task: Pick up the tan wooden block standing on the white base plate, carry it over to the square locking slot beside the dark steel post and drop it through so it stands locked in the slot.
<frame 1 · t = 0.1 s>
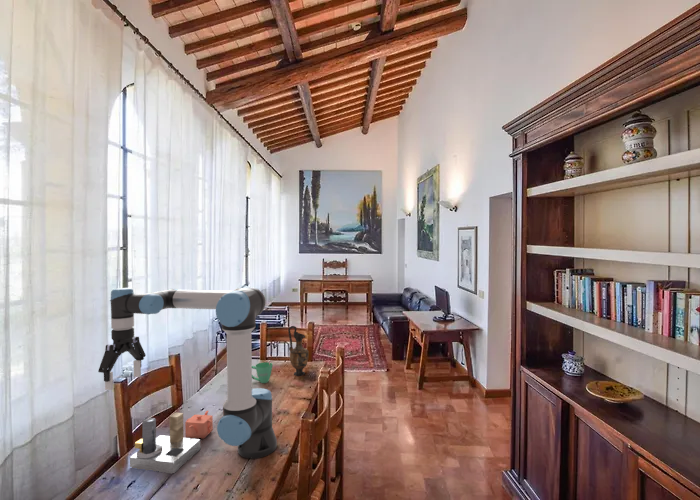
hand: (123, 382, 145), 28 cm above the table, fingers open, 13 cm apart
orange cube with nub: (199, 435, 160), on the table
vase: (298, 374, 234), on the table
white base plate: (166, 458, 142), on the table
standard: (148, 436, 139), on the white base plate, point 10 cm above the table
tan wooden block: (176, 439, 148), point 4 cm above the table, touching white base plate
mug: (260, 382, 220), on the table
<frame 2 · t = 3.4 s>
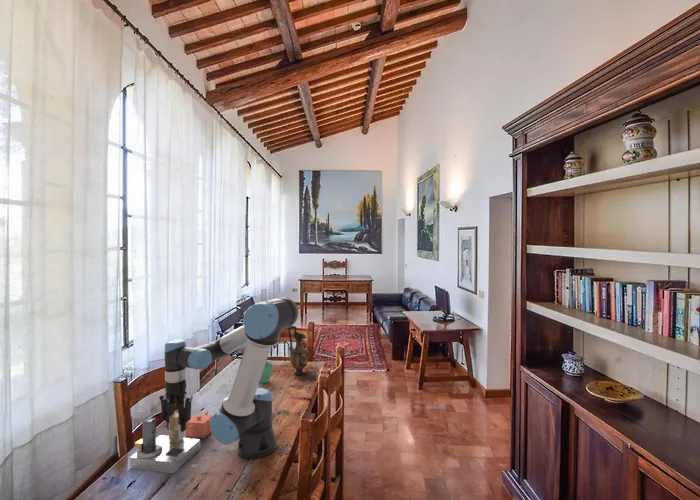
hand: (176, 438, 148), 5 cm above the table, fingers closed on tan wooden block, 3 cm apart
tan wooden block: (176, 439, 148), point 4 cm above the table, touching gripper, white base plate
everything else where it was.
when the fingers open (5 cm above the table, at t = 7.9 s): tan wooden block drops 4 cm, resting in white base plate.
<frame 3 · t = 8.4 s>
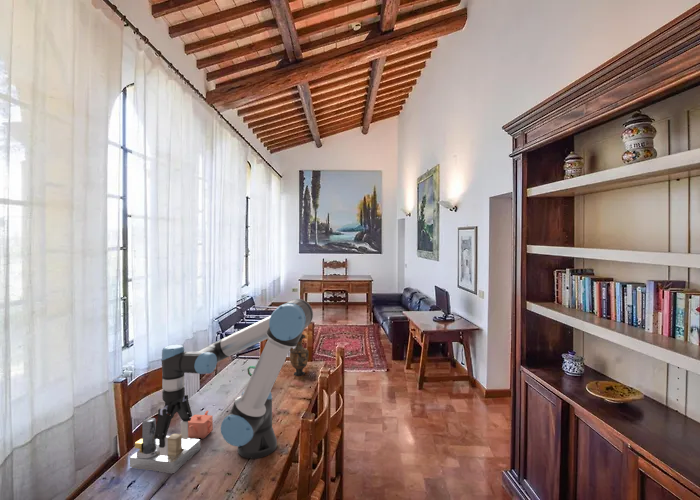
hand: (174, 446, 139), 6 cm above the table, fingers open, 11 cm apart
tan wooden block: (174, 462, 139), resting in white base plate
everything else where it was.
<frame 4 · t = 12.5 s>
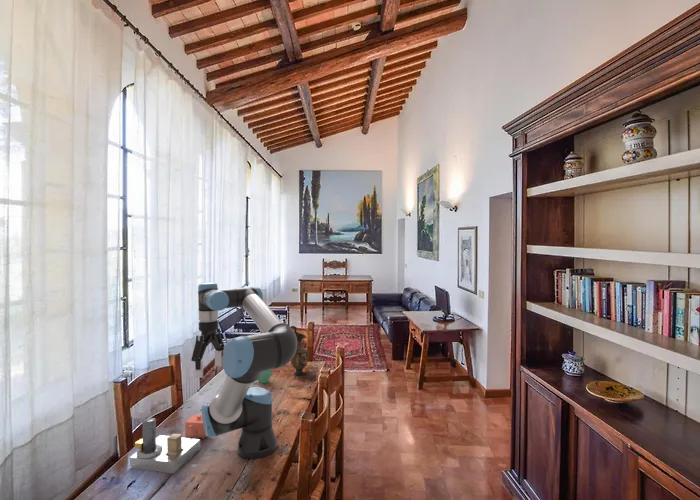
hand: (209, 371, 155), 29 cm above the table, fingers open, 13 cm apart
nothing on the table moved.
at the end: tan wooden block 0.0 cm from the target spot on the white base plate, point 0.0 cm above the white base plate's base; tan wooden block tilted 0°; the gripper is holding nothing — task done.
